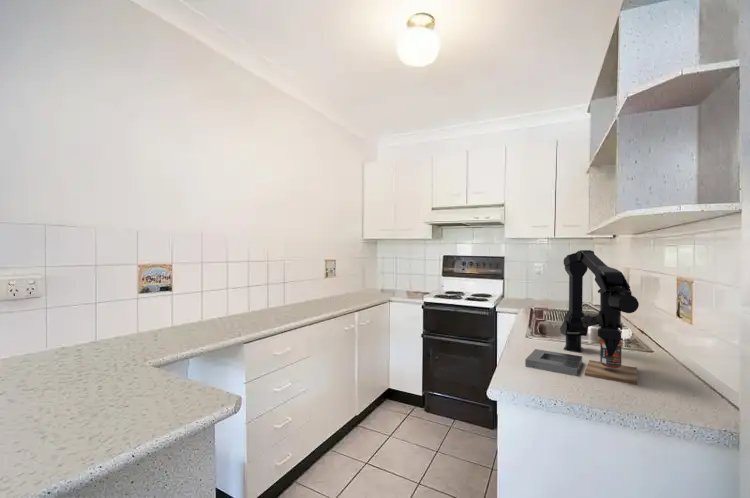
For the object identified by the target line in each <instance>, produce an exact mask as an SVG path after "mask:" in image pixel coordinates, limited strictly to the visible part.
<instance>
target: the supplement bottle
mask: <svg viewBox="0 0 750 498" xmlns="http://www.w3.org/2000/svg"><path fill="white" fill-rule="evenodd" d="M622 347H623V345H622V339H621V340H620V342H619V344H618V346H617V348H616V350H615V352H614V354H613V356H608V352H607V349H606V345H605V341H604V340H603V339H602V338H600V350H599V351H600V357H599V358H600V361H599V362H601V364H602V365H604V366H606V367H611V368H620V367H621V365H623V364H622V363H623V362H622V361H623V360H622V356H623V355H622V352H623V351H622V349H623V348H622Z"/></svg>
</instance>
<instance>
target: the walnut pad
mask: <svg viewBox="0 0 750 498" xmlns="http://www.w3.org/2000/svg"><path fill="white" fill-rule="evenodd" d="M584 376H585V377H592V378H596V379H603V380H607V381H614V382H620V383H624V384H630V385H636V386H638V383H639V382H638V367H636V366H630V365H624V364H621V367H620V368H611V367H606V366H604V365H602V364H601V361H597V360H592V359H589V360H588V362H587V365H586V368H585V370H584Z"/></svg>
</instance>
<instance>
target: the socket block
mask: <svg viewBox="0 0 750 498" xmlns="http://www.w3.org/2000/svg"><path fill="white" fill-rule="evenodd" d="M524 361H525V367H527V368H532V369H533V368H534V369H539V370H543V371H549V372H554V373H559V374H564V375H571V376H578V374H579V372H580V369H581V367H582V365H583V356H582V355H578V354H576V355H575V354H569V353H564V352H563V353H562V352H557V351H556V352H555V351H551V350H550V351H549V350H544V349H538V348H537V349H535V348H534V349H533V351H532V352H531V353H530V354H529V355H528V356H527V357H526V358H525V360H524Z"/></svg>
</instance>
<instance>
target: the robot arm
mask: <svg viewBox="0 0 750 498" xmlns="http://www.w3.org/2000/svg"><path fill="white" fill-rule="evenodd" d="M563 265H564V270H565V272H566V273H567V275H568V280H569V281H568V293H569V294H568V311H567V312H566V313H565V315H564V319H563V322H562V323H561V326H560V328H559V331H560V334H561V335H563V336H565V346H564V347H563V350H564V351H565V350H566V351H570V352H571V351H573V352H579V353H582V352H583V350H584V347H583V346H582V337H587V335H588V331H589V327H593V326H597V325H598V327H599V328H598V329H597V337H599V338H600V339H601V338H602V339H603V340H604V341H605V345H606V349H607V352H608V356H613V354H614V352H615V350H616V348H617V346H618V344H619V342H620V340H621V341H622V332H623V323H622V317H621V315H622V313H626V314H632V313H635V312H637V310H638V309H639V307H640V305H639V304H640V303H639V301H638V298H636V297H635V296H634V295H633V294H632V291H631V286H630V285H629V283H628V281H627V279H626V277H625V275H624V274H623V272H622V271H620V270H619V269H617V268H613V267H610V266H608V265H607V264H606V263H605V262H603V260H602V259H600V258H599V257H598V255H596V254H595V252H594V250H592V249H584V250H583V249H582V250H581V249H579V250H578V251H576V252H574V253H571V254H567V255H566V257H564V259H563ZM588 270H590V271H591V273H593V275H594V281H595V283H596V284H597V286H598V287H599V289H598V290H597V293H598V294H599V297H600V300H599V303H600V306H599V307H600V309H599V310H598V313H593V314H587V315H585V314H584V312H583V297H584V296H583V295H584V293H583V285H584V284H583V283H584V282H583V280H584V279H583V278H584V276H585V275H586V274H587V271H588Z"/></svg>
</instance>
